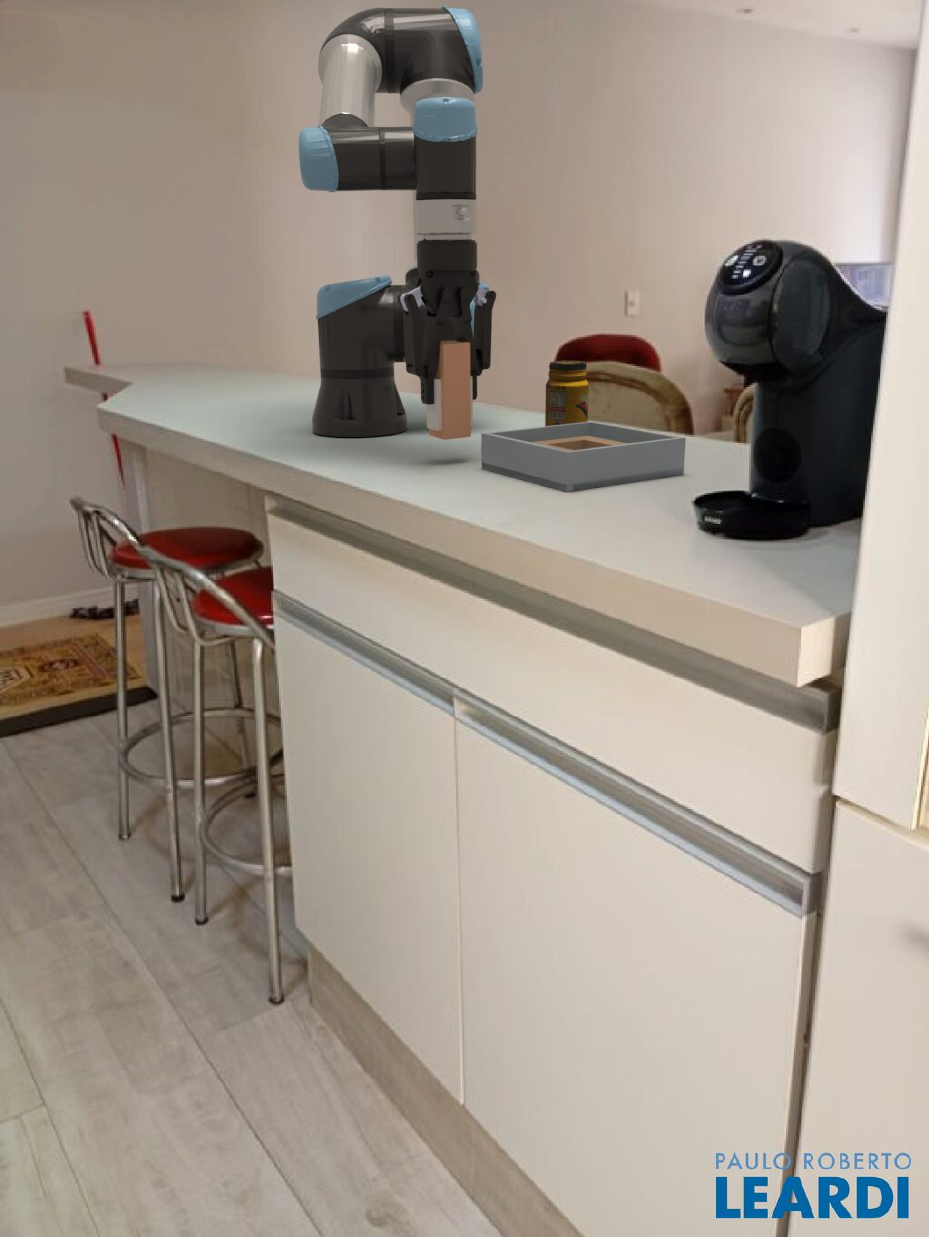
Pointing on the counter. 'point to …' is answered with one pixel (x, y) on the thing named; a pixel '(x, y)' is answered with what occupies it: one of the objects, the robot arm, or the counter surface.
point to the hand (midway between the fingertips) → (449, 426)
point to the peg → (454, 390)
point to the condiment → (566, 393)
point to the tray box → (582, 455)
